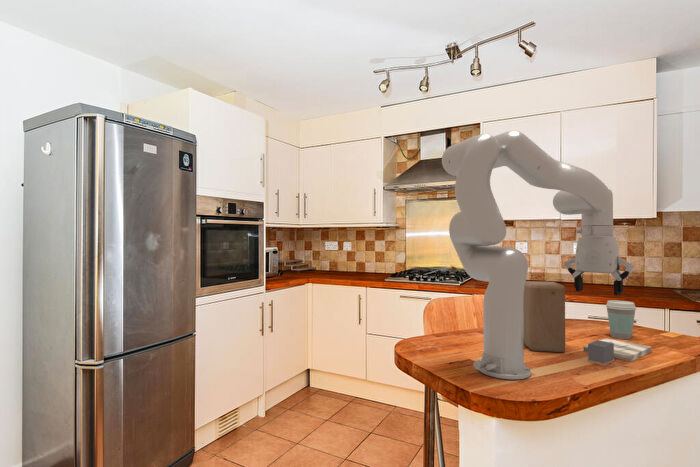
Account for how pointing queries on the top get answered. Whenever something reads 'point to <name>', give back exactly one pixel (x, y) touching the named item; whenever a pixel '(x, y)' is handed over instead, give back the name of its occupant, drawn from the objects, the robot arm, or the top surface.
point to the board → (626, 350)
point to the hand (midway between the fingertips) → (597, 292)
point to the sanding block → (600, 352)
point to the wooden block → (544, 316)
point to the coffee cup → (621, 318)
